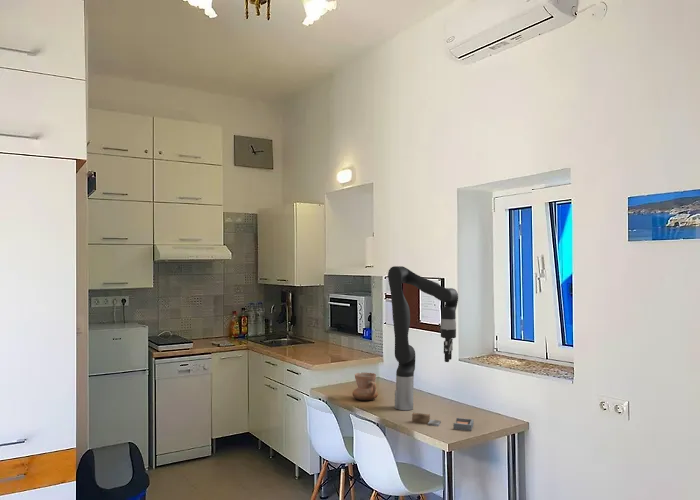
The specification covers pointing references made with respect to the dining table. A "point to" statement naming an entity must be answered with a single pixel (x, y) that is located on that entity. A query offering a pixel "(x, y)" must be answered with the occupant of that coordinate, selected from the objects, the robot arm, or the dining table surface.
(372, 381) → the ceramic jug
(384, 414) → the dining table surface
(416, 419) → the brown and grey scraper
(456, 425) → the bay
